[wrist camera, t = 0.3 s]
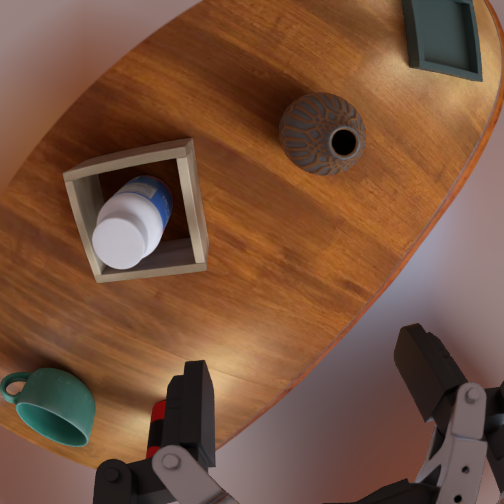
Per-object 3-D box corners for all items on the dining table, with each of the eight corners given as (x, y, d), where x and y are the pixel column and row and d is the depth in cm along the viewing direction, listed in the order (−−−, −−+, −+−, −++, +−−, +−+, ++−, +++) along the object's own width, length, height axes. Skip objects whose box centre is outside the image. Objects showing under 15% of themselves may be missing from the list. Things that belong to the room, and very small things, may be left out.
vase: (332, 85, 24) (375, 82, 17) (352, 152, 28) (397, 175, 20) (262, 105, 25) (279, 107, 17) (286, 174, 28) (310, 205, 21)
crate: (87, 159, 26) (62, 173, 21) (192, 137, 26) (185, 146, 21) (113, 254, 31) (96, 283, 26) (209, 242, 31) (206, 270, 26)
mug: (109, 383, 41) (96, 433, 32) (90, 412, 45) (79, 453, 37) (19, 331, 35) (-7, 375, 27) (14, 369, 39) (-5, 408, 31)
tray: (397, -21, 18) (406, -25, 17) (462, 1, 19) (472, -1, 17) (409, 67, 23) (419, 67, 22) (472, 80, 24) (482, 81, 22)
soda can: (170, 393, 42) (164, 461, 32) (206, 412, 45) (207, 475, 35) (144, 408, 44) (135, 470, 34) (178, 426, 47) (175, 484, 37)
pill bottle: (170, 230, 30) (151, 286, 21) (119, 221, 29) (84, 272, 20) (178, 177, 28) (158, 216, 19) (124, 169, 27) (83, 203, 18)
